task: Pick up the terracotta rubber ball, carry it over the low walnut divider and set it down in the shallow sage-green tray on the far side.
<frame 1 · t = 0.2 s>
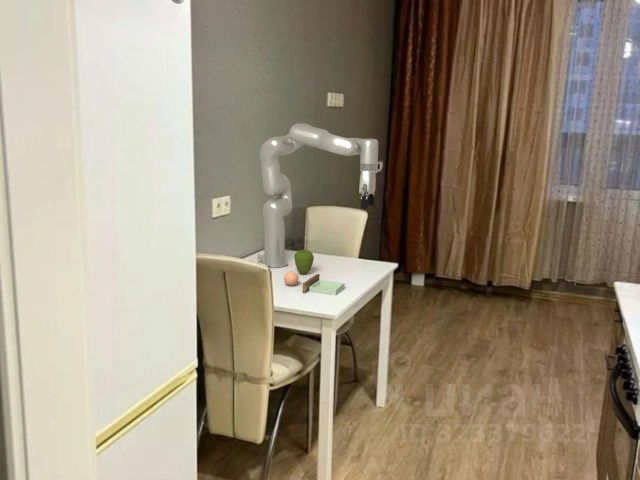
hand: (367, 206, 264), 31 cm above the table, fingers open, 9 cm apart
divider: (311, 288, 249), on the table
ball: (291, 285, 252), on the table
tray: (327, 290, 247), on the table
apple: (303, 274, 270), on the table
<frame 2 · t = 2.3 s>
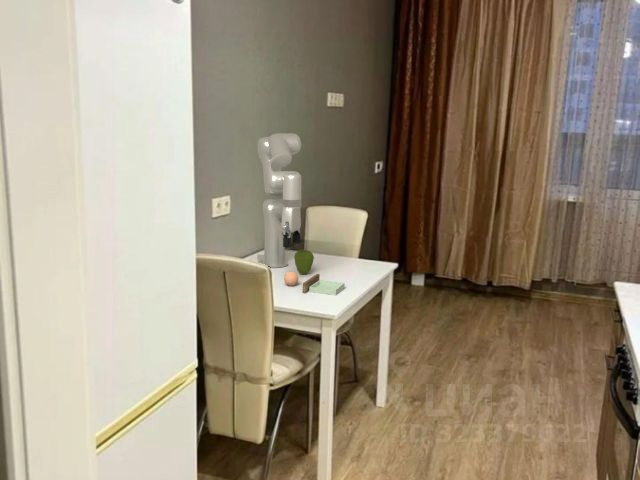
hand: (291, 245, 248), 17 cm above the table, fingers open, 9 cm apart
nothing on the table moved.
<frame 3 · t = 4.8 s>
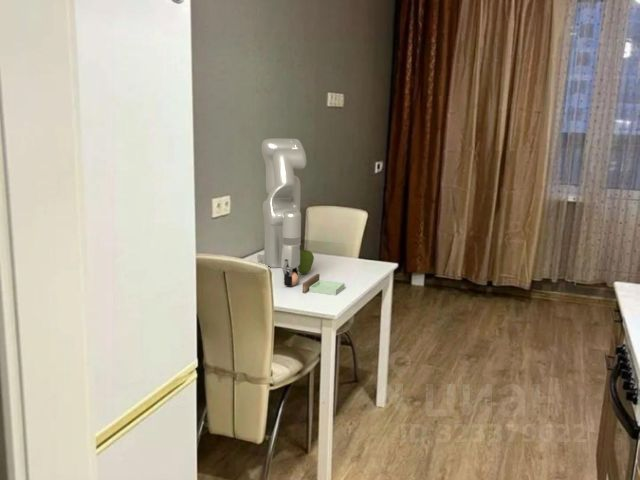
hand: (291, 283, 252), 1 cm above the table, fingers closed on ball, 6 cm apart
ball: (291, 285, 252), on the table, touching gripper
everything else where it was.
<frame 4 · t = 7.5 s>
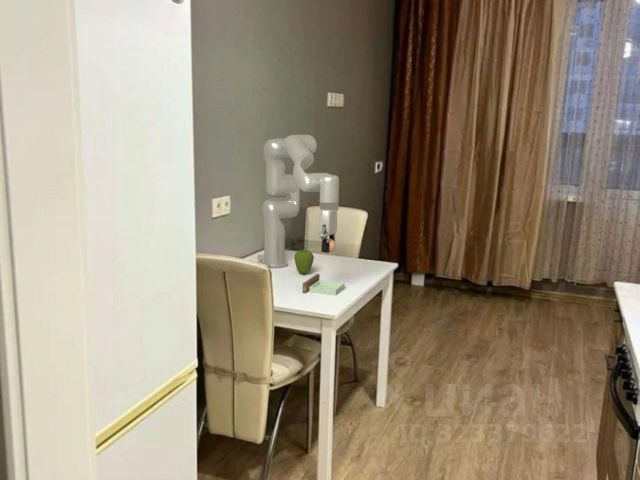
hand: (328, 250, 243), 17 cm above the table, fingers closed on ball, 5 cm apart
ball: (328, 252, 243), point 16 cm above the table, touching gripper
everything else where it was.
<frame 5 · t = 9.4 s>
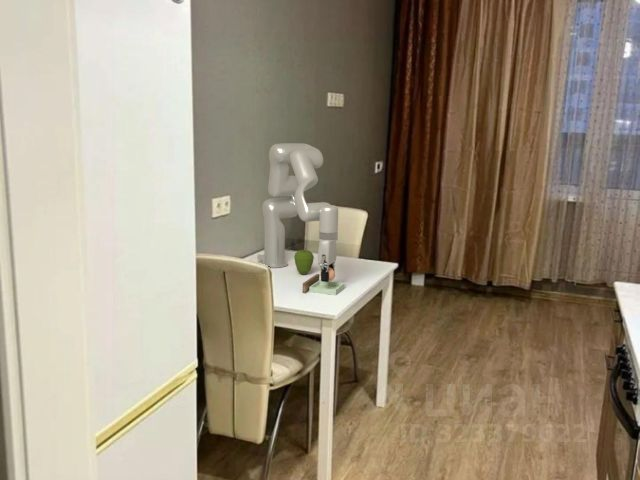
hand: (327, 279, 246), 5 cm above the table, fingers closed on ball, 5 cm apart
ball: (327, 281, 246), point 4 cm above the table, touching gripper
everything else where it was.
when the fingers open (3 cm above the table, at t = 10.7 s): ball drops 1 cm, resting on tray.
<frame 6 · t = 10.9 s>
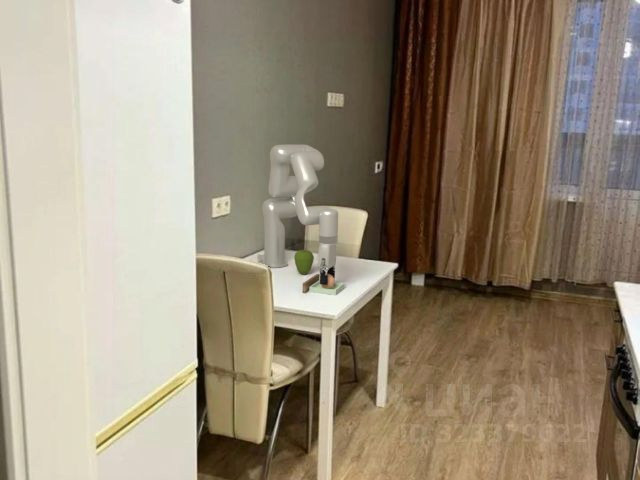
hand: (327, 281, 246), 3 cm above the table, fingers open, 7 cm apart
ball: (327, 288, 246), point 1 cm above the table, touching tray
everything else where it was.
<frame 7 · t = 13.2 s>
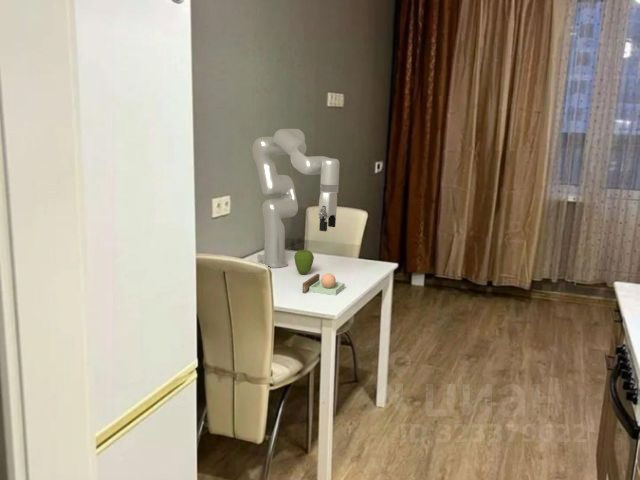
hand: (327, 228, 254), 23 cm above the table, fingers open, 9 cm apart
ball: (327, 287, 246), point 1 cm above the table, tilted 25°, touching tray
everything else where it was.
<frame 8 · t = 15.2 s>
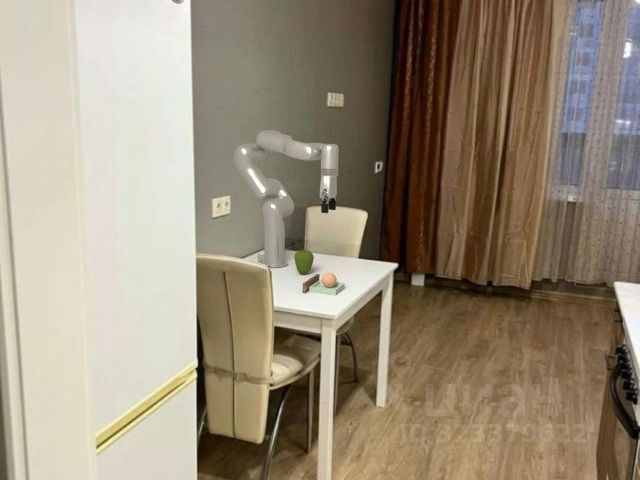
hand: (328, 211, 267), 28 cm above the table, fingers open, 9 cm apart
ball: (327, 286, 247), point 1 cm above the table, tilted 45°, touching tray
everything else where it was.
at the end: ball inside the target area on the tray (0.2 cm from its centre), point 1.5 cm above the tray's base; the gripper is holding nothing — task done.
